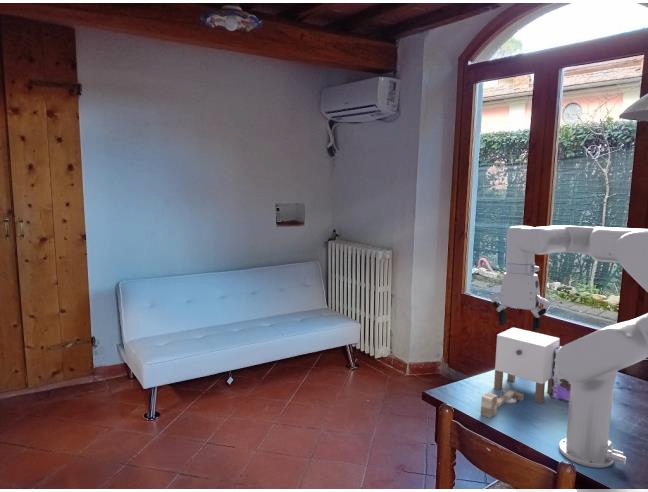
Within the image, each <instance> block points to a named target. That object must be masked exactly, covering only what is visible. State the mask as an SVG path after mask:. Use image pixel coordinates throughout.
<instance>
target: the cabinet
mask: <svg viewBox="0 0 648 492" xmlns="http://www.w3.org/2000/svg"><path fill="white" fill-rule="evenodd" d="M496 336H497V337H496V349H495V351H496V352H495V366H494V379H493V380H494V381H493V382H494V383H493V388H494V387H495V388H494V389H496V388H498V389H497V390H499V389H500V390H502V389H503V383H504V382H503V381H504V373H505V374H507V381H511V382H514V381H515V380H516V377H518V378H521V379H525V380H527V381H531V382H533V383H535V394H534V402H536V403H539V404H543V402H544V399H545V384H546V382H547V390H546V393H549V394H551V391H552V378H553V367H554V355H555V350H556V349H557V348H559V347H560V337H557V336H552V335H547V334H544V333H539V332H536V331H530V330H525V329H522V328H517V327H510V328H509V329H506V330H505V331H502V332H499V333H498V334H496Z"/></svg>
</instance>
